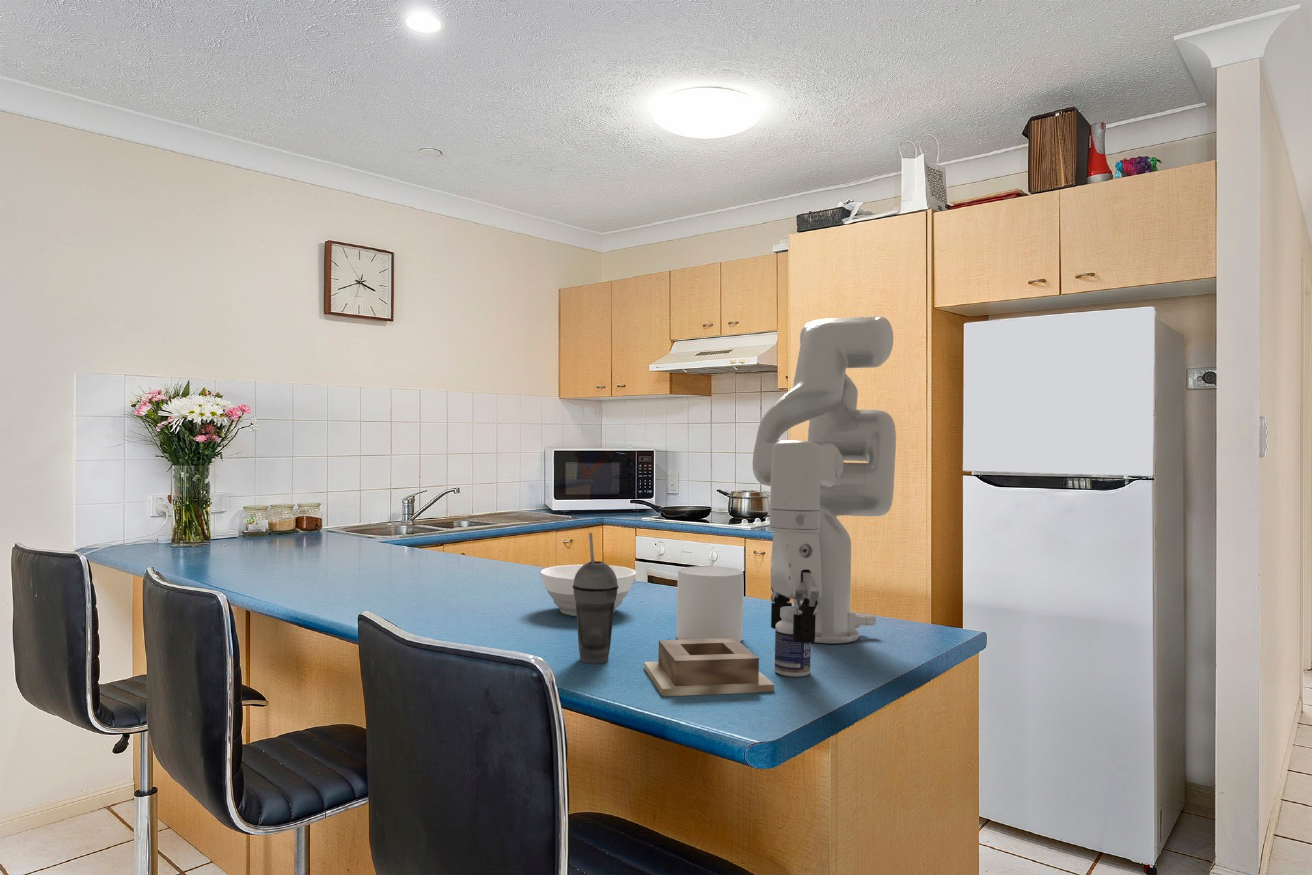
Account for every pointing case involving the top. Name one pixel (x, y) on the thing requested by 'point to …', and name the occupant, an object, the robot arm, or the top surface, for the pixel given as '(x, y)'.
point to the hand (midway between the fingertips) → (792, 634)
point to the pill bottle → (790, 647)
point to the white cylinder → (709, 603)
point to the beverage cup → (594, 608)
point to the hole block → (706, 668)
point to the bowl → (562, 583)
